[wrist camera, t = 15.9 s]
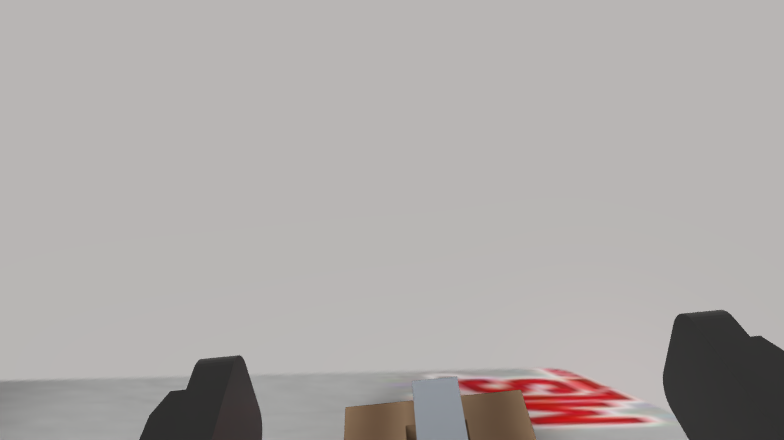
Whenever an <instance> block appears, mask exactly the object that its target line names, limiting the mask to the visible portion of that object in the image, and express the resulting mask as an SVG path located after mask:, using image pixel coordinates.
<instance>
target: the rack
mask: <svg viewBox="0 0 784 440" xmlns="http://www.w3.org/2000/svg"><path fill="white" fill-rule="evenodd" d="M461 402H462V407H463V413H464V418H465V424H466V430H467V435H468V440H536V437H535V434H534V431H533V427H532V424H531V421H530V418H529V414H528V411H527V408H526V405H525V402H524V398H523V395H522V392H521V390H514V391H504V392H494V393H484V394H474V395H464V396H461ZM344 440H417V435H416V423H415V411H414V401H404V402H394V403H384V404H374V405H364V406H354V407H346V409H345V431H344Z"/></svg>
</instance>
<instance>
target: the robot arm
mask: <svg viewBox="0 0 784 440" xmlns="http://www.w3.org/2000/svg"><path fill="white" fill-rule="evenodd" d="M663 385H664V391H665V395H666V398H667V401H668V403H669V406H670V408H671V410H672V411H673V413H674V415H675V416H676V418H677V420H678V421H679V423H680V425H681V427H682V428H683V430H684V432H685V433H686V435H687V437H688V438H689V440H784V351H783V350H782V349H780V348H779V347H777V346H776V345H774V344H773V343H771V342H769V341H768V340H766V339H765V338H763V337H762V336H754V337H750V336H749V335H748V334H747V333H746V332H745V331H744V329H743V328H742V327H741V326H740V325H739V323H738V322H737V321H736V320H735V319H734V318H733V317H732V315H731V314H729V313H728V312H726V311H724V310H716V311H706V312H695V313H685V314H679V315H678V316H677V317H676V319H675V321H674V325H673V330H672V334H671V339H670V344H669V348H668V353H667V358H666V363H665V367H664V372H663ZM139 440H262V419H261V413H260V409H259V406H258V402H257V399H256V396H255V393H254V390H253V386H252V383H251V380H250V377H249V374H248V370H247V367H246V364H245V361H244V359H243V358H242V357H241V356H229V357H219V358H209V359H200V360H199V361H198V362H197V363H196V365H195V367H194V370H193V372H192V375H191V378H190V380H189V383H188V386H187V389H186V390H179V391H170V392H169V394H168V395H167V396H166V397H165V398H164V399H163V401H162V402H161V403H160V404H159V405H158V406H157V407H156V409H155V410H154V411H153V412H152V413H151V414H150V416H149V418H148V420H147V423H146V425H145V427H144V430H143V432H142V435H141V437H140V439H139Z"/></svg>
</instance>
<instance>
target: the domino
mask: <svg viewBox="0 0 784 440" xmlns="http://www.w3.org/2000/svg"><path fill="white" fill-rule="evenodd" d="M412 388H413V399H414V411H415V423H416V435H417V440H468V435H467V430H466V424H465V418H464V413H463V407H462V402H461V396H460V391H459V385H458V379H457V377H449V378H438V379H428V380H418V381H412Z"/></svg>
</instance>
